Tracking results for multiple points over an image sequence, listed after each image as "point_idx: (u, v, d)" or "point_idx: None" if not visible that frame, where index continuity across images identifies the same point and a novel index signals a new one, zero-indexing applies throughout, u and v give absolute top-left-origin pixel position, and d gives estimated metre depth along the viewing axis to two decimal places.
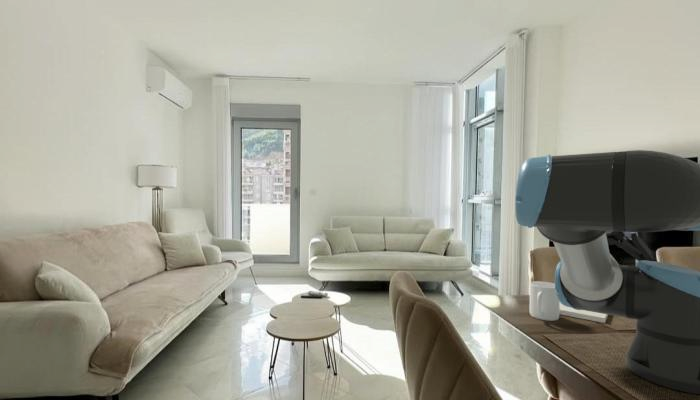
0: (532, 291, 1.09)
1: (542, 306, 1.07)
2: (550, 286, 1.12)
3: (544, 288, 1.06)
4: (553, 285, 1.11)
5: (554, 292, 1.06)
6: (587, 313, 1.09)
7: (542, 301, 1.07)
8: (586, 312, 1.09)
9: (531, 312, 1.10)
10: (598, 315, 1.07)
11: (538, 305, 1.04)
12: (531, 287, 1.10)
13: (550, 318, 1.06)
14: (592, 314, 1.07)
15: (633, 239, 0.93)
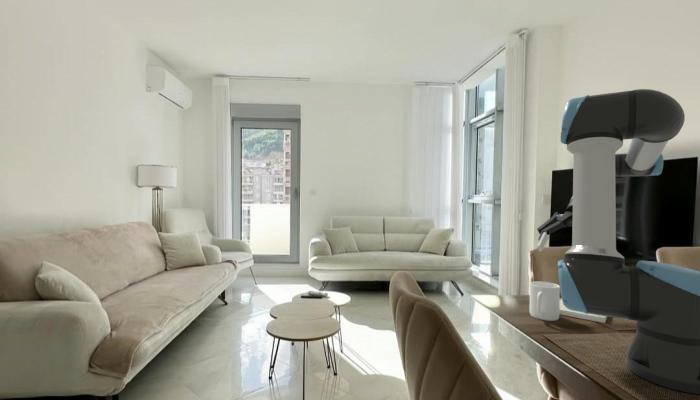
0: (532, 291, 1.09)
1: (542, 306, 1.07)
2: (550, 286, 1.12)
3: (544, 288, 1.06)
4: (553, 285, 1.11)
5: (554, 292, 1.06)
6: None
7: (542, 301, 1.07)
8: None
9: (531, 312, 1.10)
10: (598, 315, 1.07)
11: (538, 305, 1.04)
12: (531, 287, 1.10)
13: (550, 318, 1.06)
14: (592, 314, 1.07)
15: None
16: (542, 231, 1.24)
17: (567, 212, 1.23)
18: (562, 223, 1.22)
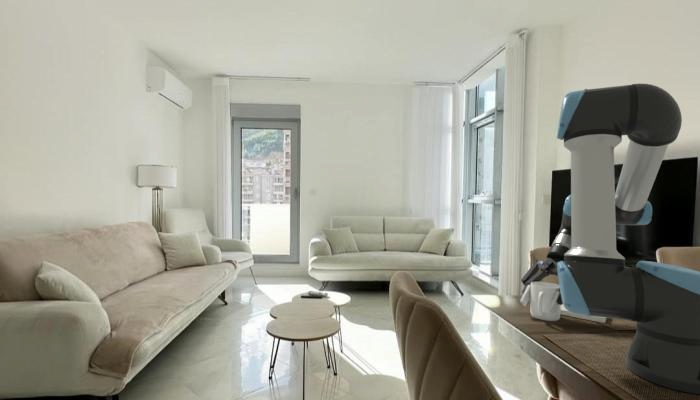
0: (533, 291, 1.09)
1: (543, 307, 1.06)
2: (551, 286, 1.12)
3: (545, 288, 1.06)
4: (554, 285, 1.11)
5: (555, 292, 1.06)
6: None
7: (543, 301, 1.06)
8: None
9: (532, 312, 1.10)
10: None
11: (539, 305, 1.04)
12: (532, 287, 1.09)
13: (551, 318, 1.06)
14: None
15: None
16: (526, 283, 1.14)
17: (547, 258, 1.16)
18: (545, 272, 1.13)
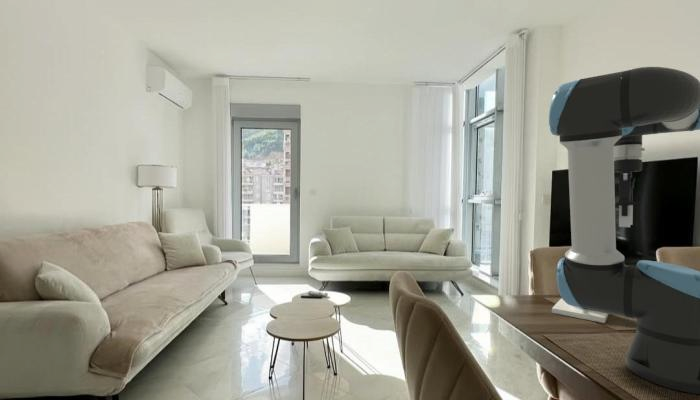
0: None
1: None
2: None
3: None
4: None
5: None
6: (587, 313, 1.09)
7: None
8: (586, 312, 1.09)
9: None
10: (598, 315, 1.07)
11: None
12: None
13: None
14: (592, 314, 1.07)
15: None
16: None
17: None
18: None
